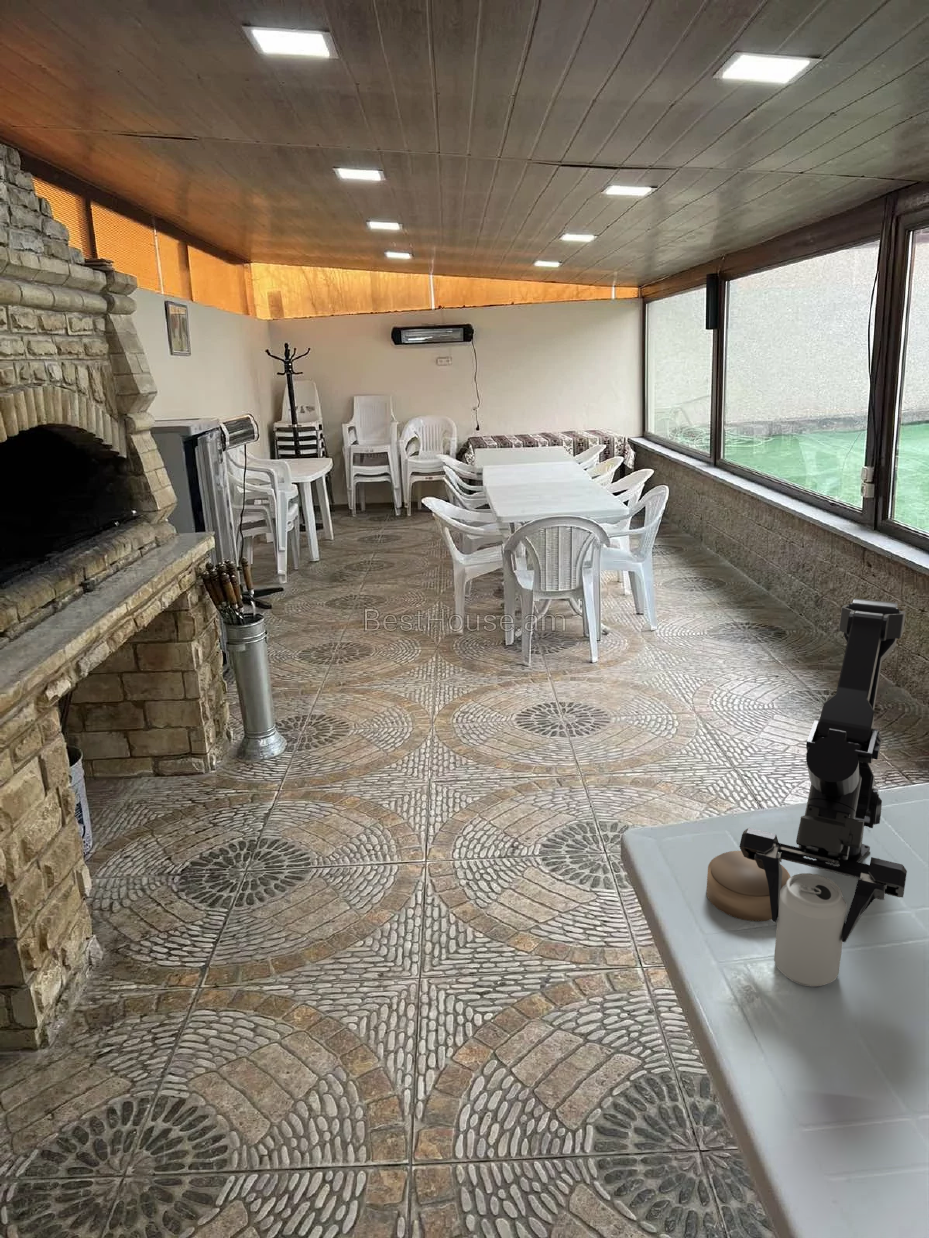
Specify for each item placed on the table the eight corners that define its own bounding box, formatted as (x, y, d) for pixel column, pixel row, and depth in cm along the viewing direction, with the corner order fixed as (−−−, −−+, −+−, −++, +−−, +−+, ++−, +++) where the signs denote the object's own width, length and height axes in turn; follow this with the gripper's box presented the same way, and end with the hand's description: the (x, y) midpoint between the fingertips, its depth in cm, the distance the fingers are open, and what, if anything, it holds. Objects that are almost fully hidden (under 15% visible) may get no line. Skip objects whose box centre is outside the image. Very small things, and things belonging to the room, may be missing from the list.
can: (844, 994, 102) (854, 909, 98) (777, 987, 103) (785, 903, 100) (831, 952, 109) (841, 871, 105) (769, 946, 110) (776, 865, 107)
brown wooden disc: (731, 863, 128) (733, 840, 126) (803, 894, 120) (805, 870, 119) (691, 896, 121) (692, 872, 119) (764, 932, 113) (766, 906, 112)
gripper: (748, 770, 107) (719, 894, 101) (916, 805, 98) (895, 944, 92) (757, 798, 116) (732, 913, 110) (912, 832, 106) (893, 960, 101)
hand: (808, 931), depth 103 cm, fingers closed on can, 7 cm apart
